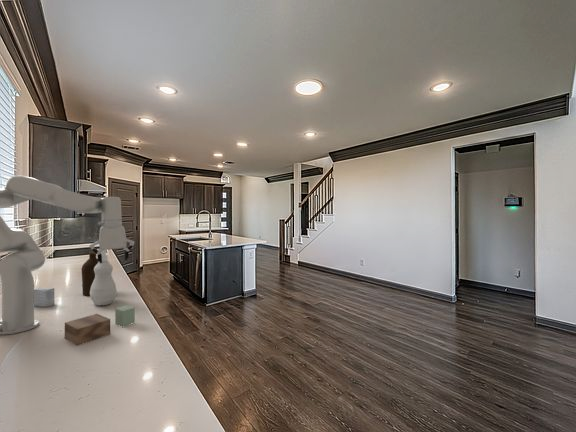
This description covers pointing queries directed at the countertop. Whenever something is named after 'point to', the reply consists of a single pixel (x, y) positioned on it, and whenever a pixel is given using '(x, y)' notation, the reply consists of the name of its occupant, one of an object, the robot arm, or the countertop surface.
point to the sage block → (124, 315)
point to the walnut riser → (87, 329)
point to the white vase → (103, 283)
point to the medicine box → (44, 297)
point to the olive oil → (88, 273)
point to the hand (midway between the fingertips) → (113, 261)
